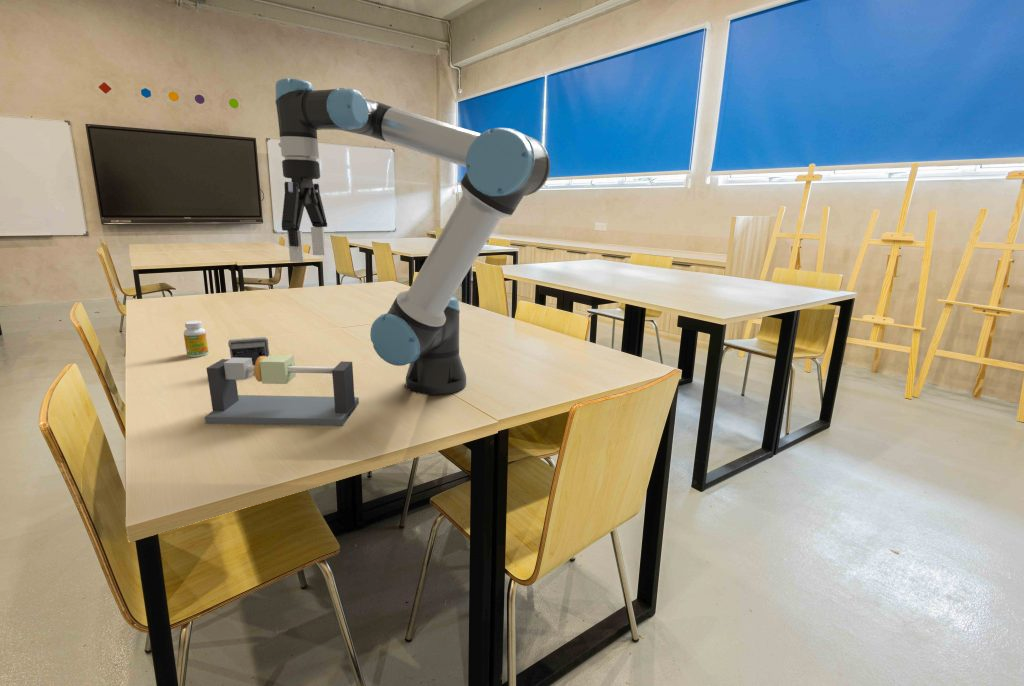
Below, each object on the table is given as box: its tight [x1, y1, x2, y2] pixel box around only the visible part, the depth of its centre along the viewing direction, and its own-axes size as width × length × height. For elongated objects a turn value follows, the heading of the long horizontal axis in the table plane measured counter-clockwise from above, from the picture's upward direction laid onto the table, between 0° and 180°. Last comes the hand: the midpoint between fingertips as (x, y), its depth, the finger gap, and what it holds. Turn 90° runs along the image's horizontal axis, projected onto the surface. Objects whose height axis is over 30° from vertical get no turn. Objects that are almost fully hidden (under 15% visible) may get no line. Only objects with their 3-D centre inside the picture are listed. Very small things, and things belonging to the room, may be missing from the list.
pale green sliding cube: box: [260, 354, 296, 385], centre depth 108 cm, size 5×5×5 cm
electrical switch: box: [227, 336, 271, 365], centre depth 134 cm, size 9×5×9 cm, turn 113°
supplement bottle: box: [183, 320, 209, 358], centre depth 147 cm, size 5×5×10 cm
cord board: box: [204, 356, 360, 427], centre depth 109 cm, size 28×12×13 cm, turn 91°
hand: (308, 258), depth 116 cm, fingers open, 13 cm apart
